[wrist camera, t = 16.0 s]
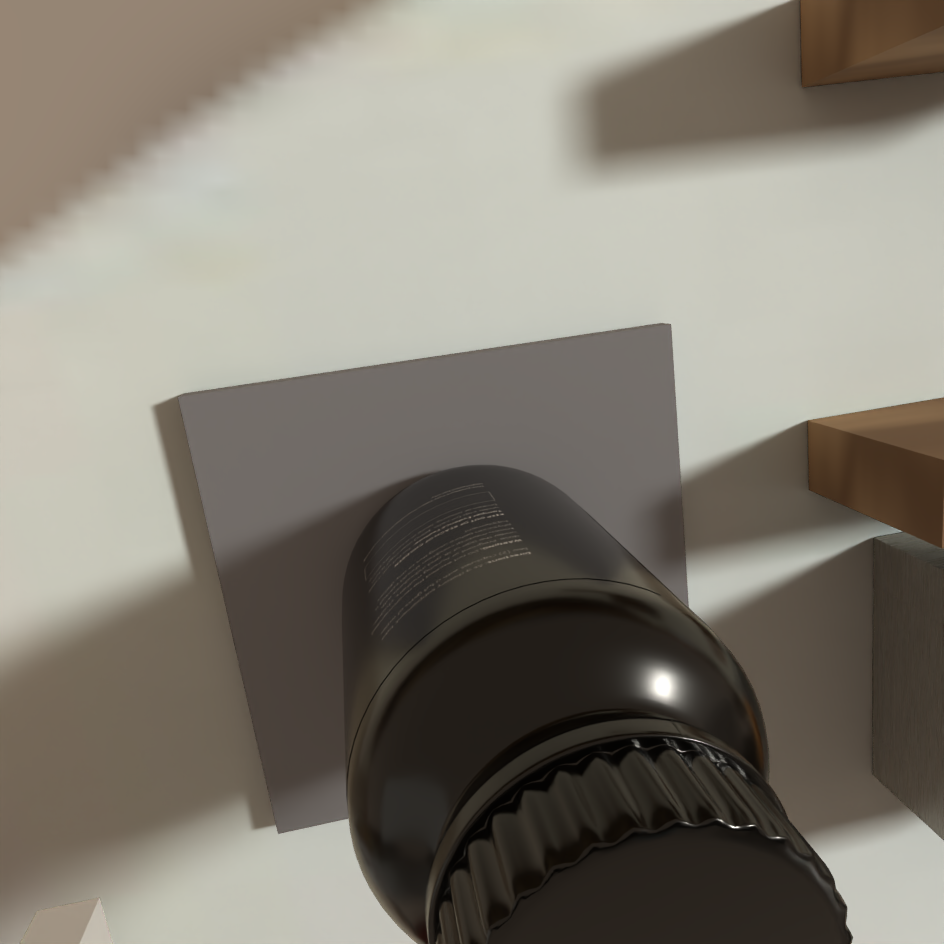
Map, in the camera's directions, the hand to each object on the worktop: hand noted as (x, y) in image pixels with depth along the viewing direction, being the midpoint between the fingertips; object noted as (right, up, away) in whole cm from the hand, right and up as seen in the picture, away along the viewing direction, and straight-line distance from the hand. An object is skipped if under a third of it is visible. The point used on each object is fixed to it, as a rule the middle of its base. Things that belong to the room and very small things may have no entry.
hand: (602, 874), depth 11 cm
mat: (-2, +3, +10) cm, 10 cm away
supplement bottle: (-2, +3, +9) cm, 10 cm away
